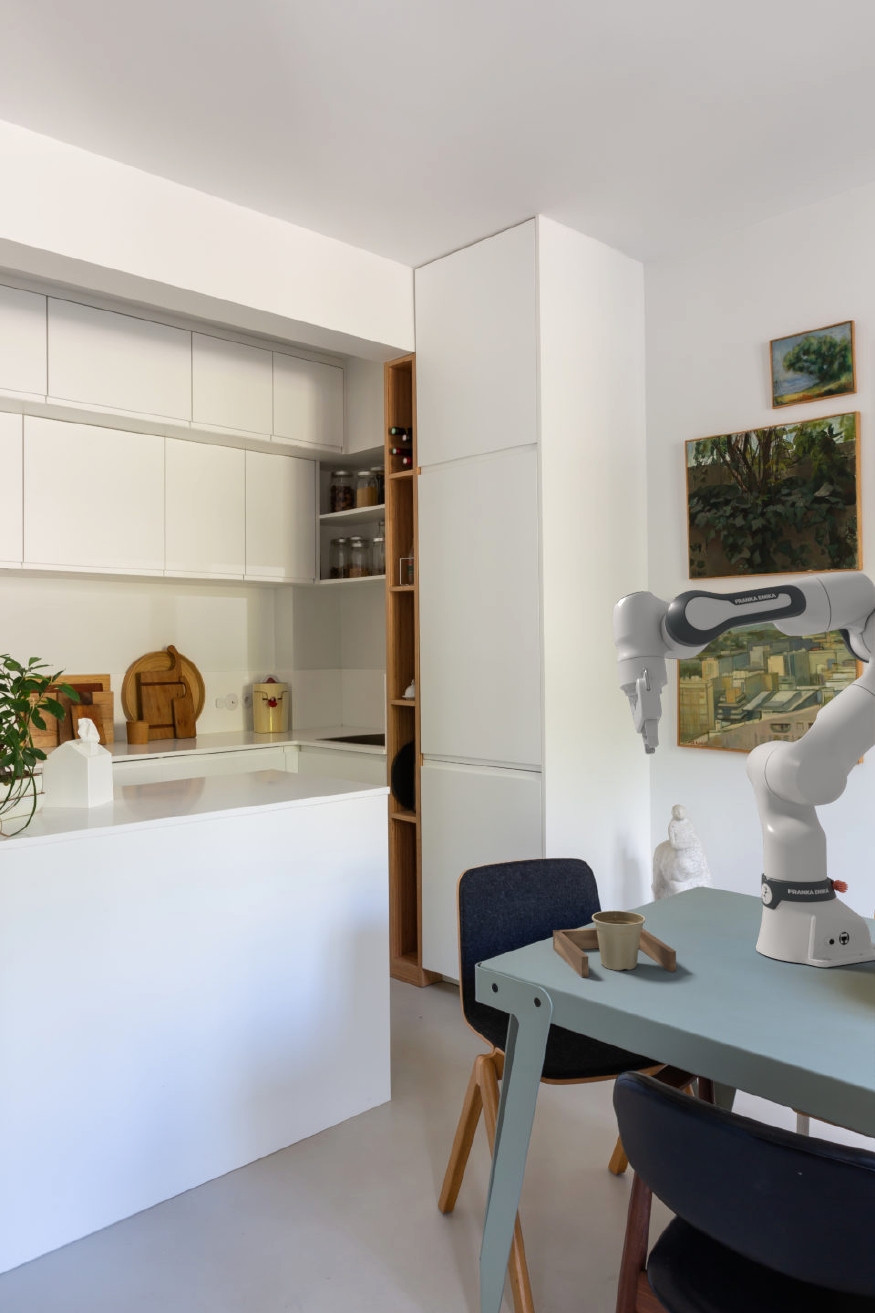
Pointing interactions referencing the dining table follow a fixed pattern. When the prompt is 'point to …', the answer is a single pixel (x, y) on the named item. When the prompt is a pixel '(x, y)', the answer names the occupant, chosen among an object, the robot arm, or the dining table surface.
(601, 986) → the dining table surface
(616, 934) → the flower pot
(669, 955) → the wooden u-shaped frame
